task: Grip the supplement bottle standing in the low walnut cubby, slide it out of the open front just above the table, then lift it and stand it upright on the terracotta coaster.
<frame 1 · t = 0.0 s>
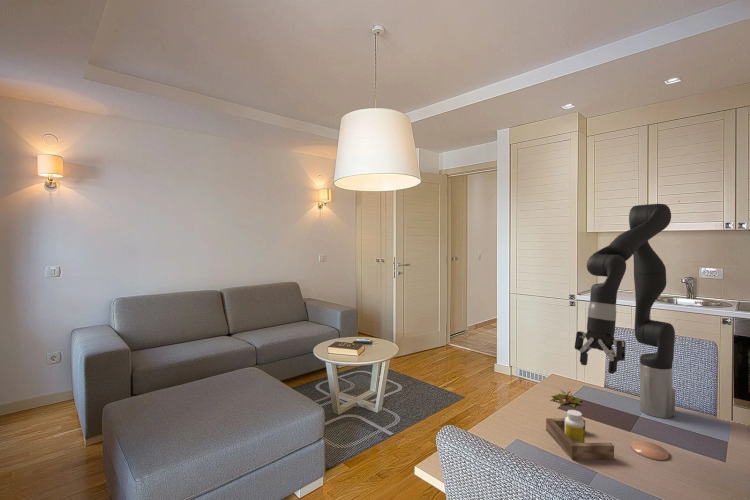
hand: (597, 368, 114), 22 cm above the table, tool pointing down, fingers open, 8 cm apart
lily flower: (566, 402, 141), on the table
terracotta coaster: (649, 451, 107), on the table
supplement bottle: (574, 444, 112), on the table
walnut cubby: (577, 443, 112), on the table
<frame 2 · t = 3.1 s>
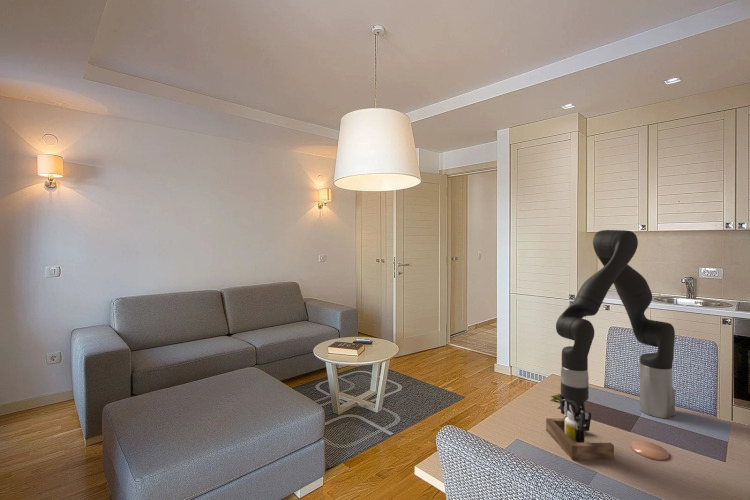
hand: (574, 435, 112), 3 cm above the table, tool pointing down, fingers closed on supplement bottle, 5 cm apart
supplement bottle: (574, 444, 112), on the table, touching gripper
everything else where it was.
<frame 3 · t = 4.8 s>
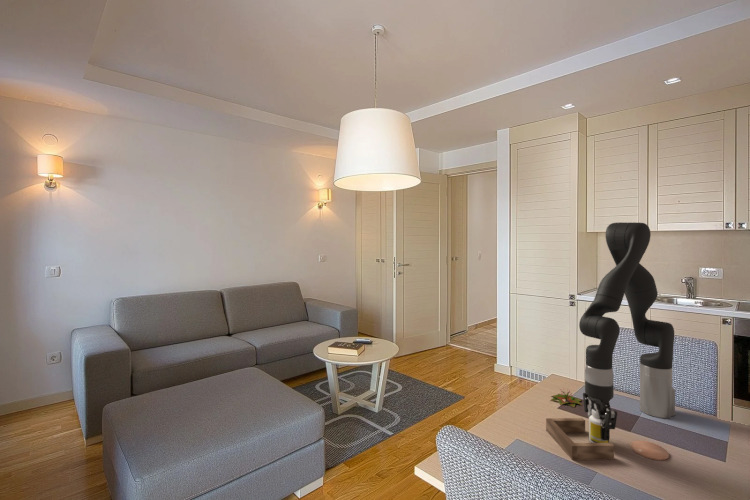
hand: (599, 434, 112), 3 cm above the table, tool pointing down, fingers closed on supplement bottle, 5 cm apart
supplement bottle: (599, 442, 112), on the table, touching gripper
everything else where it was.
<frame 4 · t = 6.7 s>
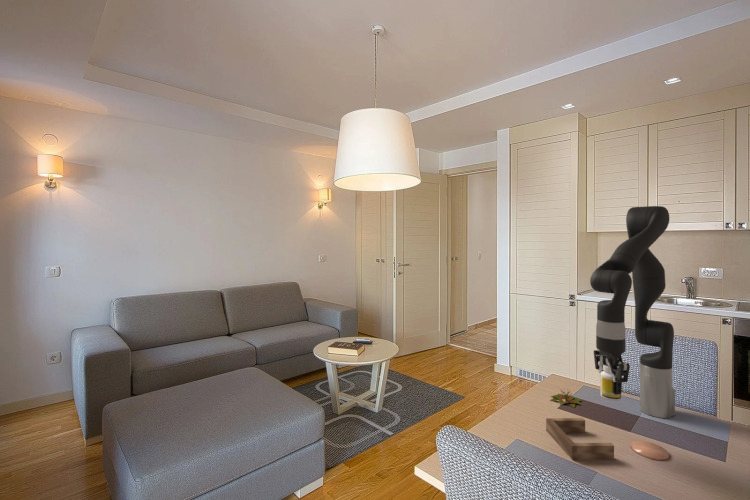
hand: (610, 389, 111), 17 cm above the table, tool pointing down, fingers closed on supplement bottle, 5 cm apart
supplement bottle: (610, 398, 111), point 14 cm above the table, touching gripper
everything else where it was.
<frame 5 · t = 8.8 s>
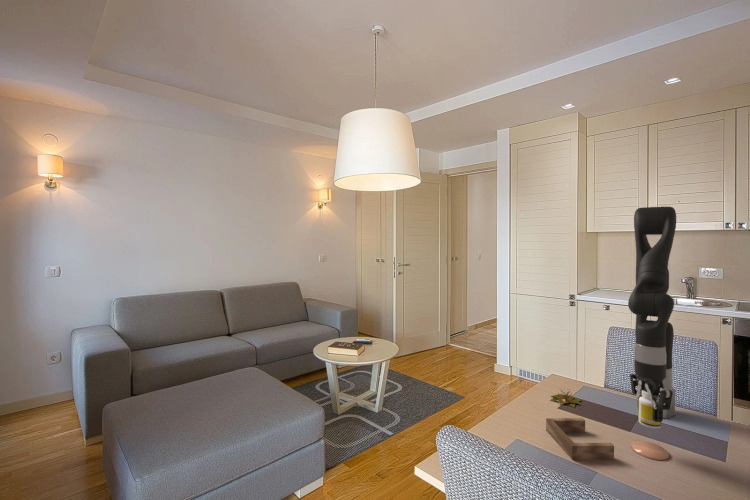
hand: (649, 416, 107), 11 cm above the table, tool pointing down, fingers closed on supplement bottle, 5 cm apart
supplement bottle: (649, 425, 107), point 8 cm above the table, touching gripper
everything else where it was.
when the fingers open (5 cm above the table, at t = 10.3 s): supplement bottle drops 2 cm, resting on terracotta coaster.
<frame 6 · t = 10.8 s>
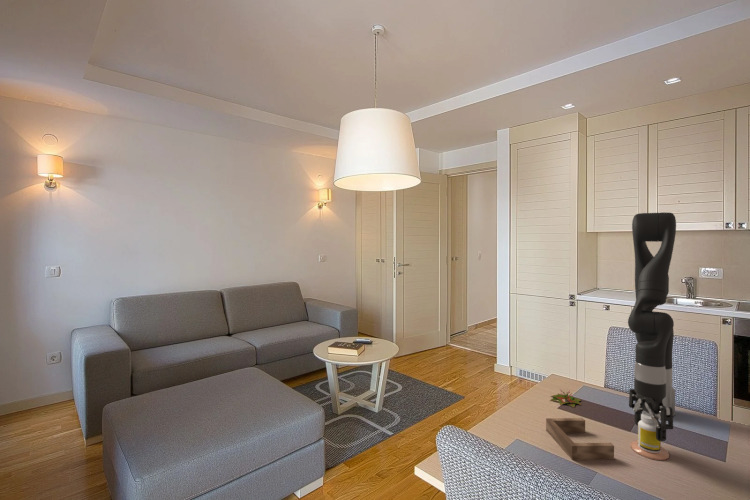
hand: (649, 432, 107), 6 cm above the table, tool pointing down, fingers open, 8 cm apart
supplement bottle: (649, 449, 108), resting on terracotta coaster
everything else where it was.
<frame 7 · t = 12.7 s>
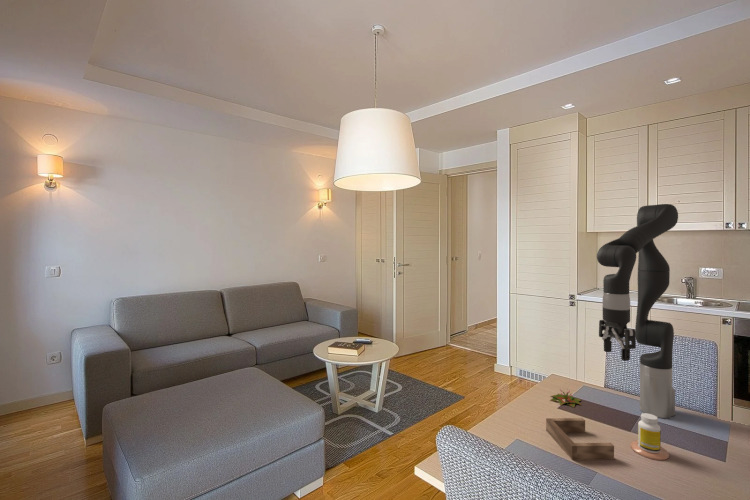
hand: (616, 355, 118), 25 cm above the table, tool pointing down, fingers open, 8 cm apart
nothing on the table moved.
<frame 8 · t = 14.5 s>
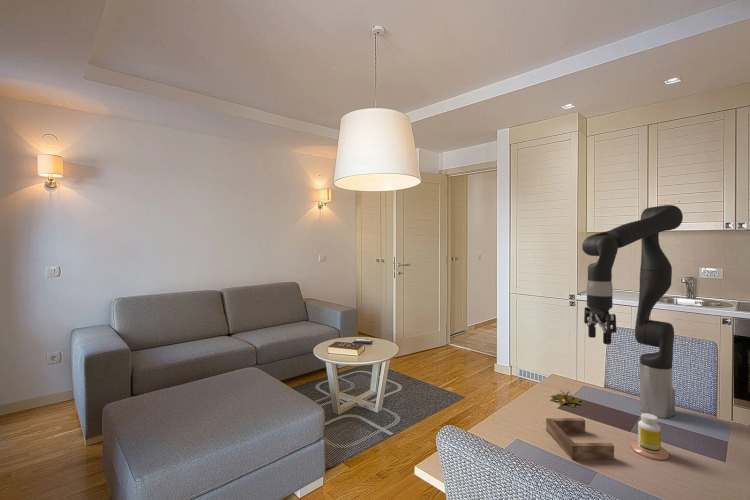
hand: (599, 340, 125), 28 cm above the table, tool pointing down, fingers open, 8 cm apart
nothing on the table moved.
at the end: supplement bottle 0.2 cm off-centre on the terracotta coaster, point 0.4 cm above the terracotta coaster's base; supplement bottle tilted 0°; the gripper is holding nothing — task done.
